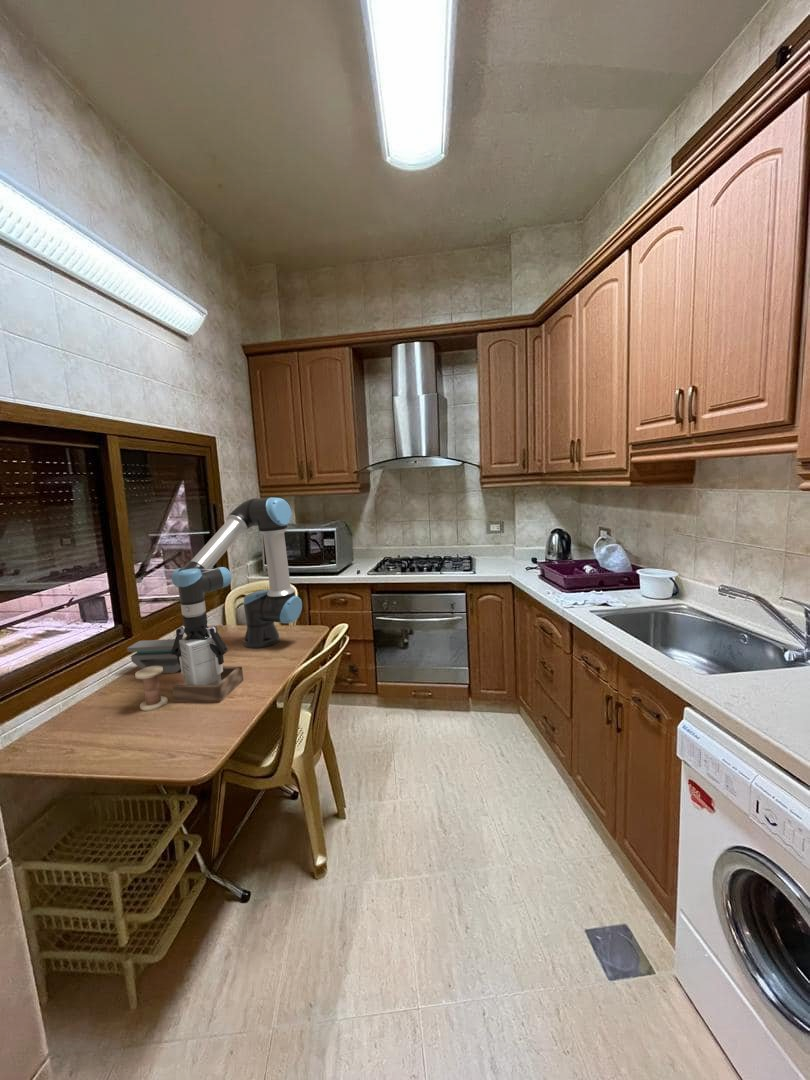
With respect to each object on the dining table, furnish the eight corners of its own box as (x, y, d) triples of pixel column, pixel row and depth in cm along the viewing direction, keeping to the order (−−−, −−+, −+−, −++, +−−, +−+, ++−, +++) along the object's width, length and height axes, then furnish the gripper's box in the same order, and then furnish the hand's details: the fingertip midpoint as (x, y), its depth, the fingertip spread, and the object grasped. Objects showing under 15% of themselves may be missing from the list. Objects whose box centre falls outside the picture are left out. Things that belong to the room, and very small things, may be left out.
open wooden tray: (201, 680, 167) (200, 666, 166) (243, 680, 164) (241, 666, 164) (174, 701, 151) (172, 687, 150) (220, 702, 149) (218, 687, 148)
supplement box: (212, 675, 164) (206, 631, 162) (222, 682, 158) (216, 636, 155) (184, 685, 158) (178, 639, 155) (194, 693, 151) (187, 645, 149)
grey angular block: (202, 663, 183) (199, 637, 181) (193, 671, 175) (189, 645, 174) (143, 666, 184) (139, 640, 182) (131, 674, 176) (126, 648, 175)
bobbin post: (151, 698, 154) (146, 665, 153) (172, 698, 153) (168, 665, 152) (134, 710, 147) (129, 676, 145) (157, 711, 146) (151, 676, 144)
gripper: (154, 618, 152) (163, 677, 155) (222, 616, 149) (229, 677, 152) (168, 611, 160) (176, 668, 163) (233, 610, 156) (240, 668, 159)
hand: (202, 673), depth 157 cm, fingers closed on supplement box, 12 cm apart
